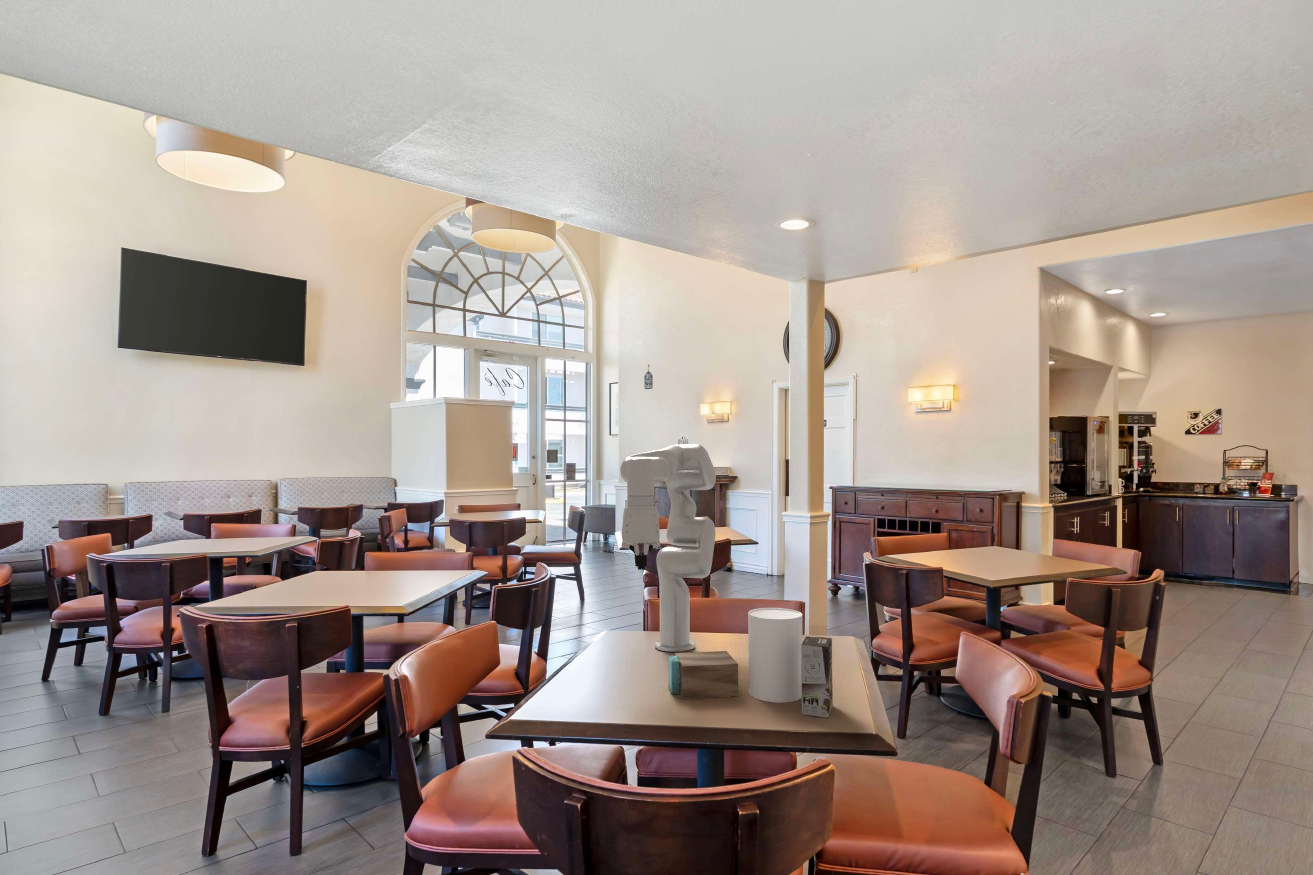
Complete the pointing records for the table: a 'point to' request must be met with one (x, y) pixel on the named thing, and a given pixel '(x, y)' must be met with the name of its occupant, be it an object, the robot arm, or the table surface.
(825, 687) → the coffee box
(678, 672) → the peg
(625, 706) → the table surface
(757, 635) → the canister
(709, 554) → the robot arm
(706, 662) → the block
